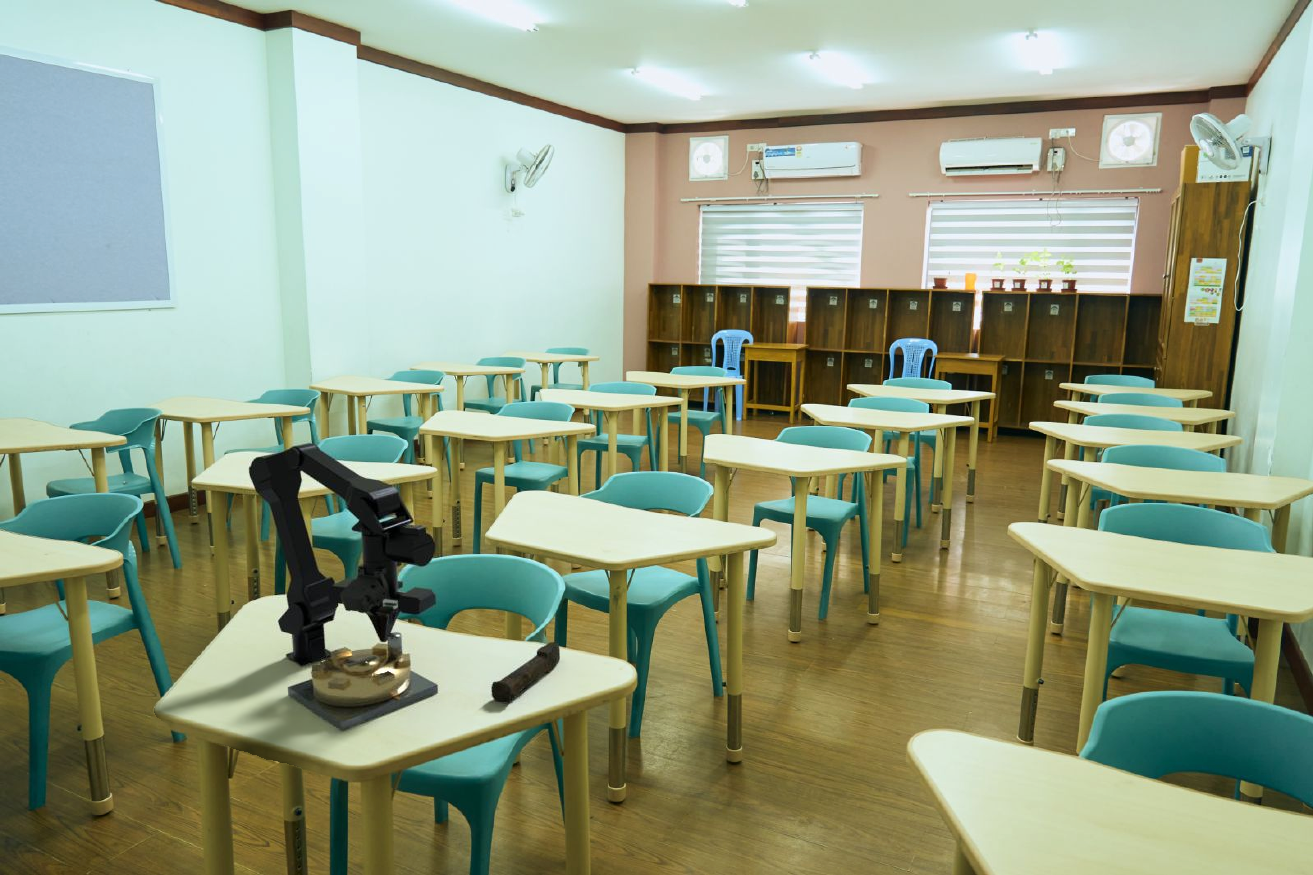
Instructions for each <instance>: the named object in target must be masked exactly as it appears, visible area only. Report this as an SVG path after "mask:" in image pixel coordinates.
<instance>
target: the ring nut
mask: <svg viewBox="0 0 1313 875" xmlns="http://www.w3.org/2000/svg"><path fill="white" fill-rule="evenodd" d="M402 638H403V636H402V633H401V632H397V631H394V632H393V631H392V632H391V633H390V634H388V635H387V643H379V642H377V643H376V644H375V645H373V646H372V648H364V649H362V648H361V649H356V650H352V649H349V648H348V647H346V646H344V647H342V648H338V649H336V650H332V651H331V657H329V658H326V659H324V660H322V661H321V662H320V663H319V664H312V665H311V671H310V672H311V679H312V680H313V694H314V696H315V697H316V698H317V699H318V700H319V701H321V702H323V703H326V704H329V705H334V706H343V707H351V706H363V705H369V704H374V703H378V702H382V701H385V700H387V699H390V698H392V697H394V696H396V695H398V694H400V693H401V692H403V691H404V690H405V689H406V688H407V687H408V686H409V684H410V682H411V671H412V670H411V654H410V653H403V640H402Z"/></svg>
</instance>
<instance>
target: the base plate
mask: <svg viewBox="0 0 1313 875" xmlns="http://www.w3.org/2000/svg"><path fill="white" fill-rule="evenodd" d="M438 693H439V685H438V684H437V683H436V682H433V681H431V680H430V679H427V678H426V677H424V676H422V675H420V674H418V673H417V672H415V671H413V670H411V682H410V684H409V686H408V687H407V688H406V689H405V690H404V691H403V692H401V693H400V694H398V695H396V696H394V697H392V698H390V699H387V700H385V701H382V702H378V703H374V704H369V705H363V706H351V707H343V706H334V705H329V704H326V703H323V702H321V701H319V700H318V699H317V698H316V697H315V696H314V694H313V680H312V678H310V679H308V680H305V681H302V682H299V683H296V684H293V685H290V686H287V695H288V696H289V697H290V698H292V699H293V700H294V701H296V702H298V703H299V704H300V705H302V706H304V707H305V708H306V709H308V710H310V711H311V712H313V713H314V714H315V715H317V716H319V717H320V718H321V719H323V720H324V721H325V722H327V723H329V724H330V725H332V726H333V727H335V728H336V729H337V730H339V731H340V732H343V731H346V730H349V729H351V728H353V727H356V726H359V725H362V724H363V723H366V722H369V721H371V720H374V719H377V718H379V717H381V716H384V715H386V714H388V713H392V712H393V711H396V710H398V709H401V708H403V707H406V706H409V705H411V704H414V703H415V702H419V701H421V700H423V699H425V698H428V697H429V698H430V697H431V696H433V695H435V694H438Z"/></svg>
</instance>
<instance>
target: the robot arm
mask: <svg viewBox="0 0 1313 875" xmlns="http://www.w3.org/2000/svg"><path fill="white" fill-rule="evenodd" d="M302 473H304V474H306V475H307V476H308V477H309V478H312V479H313V480H315V481H316V482H318V483H319V484H321V485H322V486H323V487H325V488H327V489H328V490H330V491H331V492H333V493H334V494H335V495H337V496H339V497H340V498H341V499H343V501H344V503H345V507H346V509H347V510H348V511H349V513H351V515H352V516H354V517H355V518H356V519H357V520H358V521H357V522H356V523H355V524H353V526H352V527H351V531H352V532H357V533H360V534H361V535H360V536H361V537H360V538H361V550H362V551H361V552H362V553H361V554H362V564H359V565H358V566H357V567H358V568H357V574H356V575H357V576H356V578H352V577H347V578H343V580H340V581H338V582H337V583H336V582H335V579H334V578H333V577H332V576H329V577H326V576H325V575H324V573H322V572H321V571H320V570H319V569H320V568H319V566H318V563H317V559H316V556H315V553H314V549H313V547H312V542H311V538H310V535H309V532H308V529H307V524H306V521H305V518H304V515H303V511H302V507H301V504H300V500H299V493H300V490H301V486H302V482H303V479H302V478H303V477H302ZM248 474H249V478H250V480H251V483H252V485H253V487H254V489H255V492H256V493H257V494H258V496H260V497H261V498H262V499H263V500H264V501H265V502H266V503H267V504H269V507H270V511H271V514H272V517H273V522H274V524H275V529H276V531H277V535H278V538H279V542H280V546H281V549H282V552H283V555H284V559H285V563H286V567H287V569H288V574H289V576H290V582H289V585H288V589H287V592H286V593H287V594H286V602H287V606H288V607H287V609H286V610H285V612H284V613H282V615H281V617H280V618H279V619H278V620H277V623H278V627H279V630H280V632H281V633H282V632H283V633H285V634H290V635H291V641H292V642H291V643H292V651H291V652H288V653H286V654H285V657H286V658H287V659H288V660H290V661H292V662H293V663H295V664H297V665H298V666H300V667H304V666H308V665H310V664H313V663H316V662H319V661H324V660H327V659H329V658H331V651H330V650H328V648H326V636H325V624H327V623H330V622H333V621H334V620H335V616H336V612H337V610H338V608H339V604H343V607H344V609H345V611H347V612H350V611H352V612H358V613H360V614H366V615H367V616H368V619H369V620H370V622H371V624H372V626H373V628H374V631H375V633H376V635H377V637H378V639H379V641H380V642H382V643H386V642H388V640H387V635H388V634H390V633H392V632H393V629H394V626H395V624H396V620H397V619H398V617H399V614H400V613H401V614H408V615H415V616H416V615H421V614H422V613H423V612H425V611H427V610H429V609H430V608H431V607H434V605H436V604H437V603H436V602H437V598H436V597H437V596H436V593H435V591H433V589H432V588H431V589H430V588H424V587H416V586H415V587H413V588H411V589H410V590H407V591H400V589H401V588H404V586H403V585H404V583H403V581H399V578H398V576H399V575H398V572H399V571H398V568H399V567H400V566H402V564H406V565H411V566H415V567H422V568H423V567H426V566H427V565H429V564H430V563H431V561H432V560H433V558H434V556H435V552H436V542H435V540H434V538H433V536H432V535H431V534H430V533H428V532H427V527H426V526H425V525H420V524H419V525H414V524H413V523H414V518H413V516H412V515H411V512H410V511H409V510H408V508H407V506H406V504H404V503H405V502H404V501H403V499H402V498H401V496H400V494H399V491H398V490H397V488H396V487H394V486H393V485H391V484H390V483H387V482H385V481H381V480H380V479H374V478H369V477H368V478H367V477H365V476H362V475H360V474H358V473H356V472H355V471H353V470H352V469H350V468H349V467H348V466H346V465H345V464H344V463H342V462H340V461H338V460H337V459H335V458H334V457H332V456H331V455H329V454H328V453H325V452H324V451H323V450H321V449H320V447H319V446H318V445H317V444H315V443H312V442H307V443H302V444H299V445H292V446H291V447H289V448H288V449H286V450H283V451H281V452H276V453H270V454H266V455H260V456H256V457H255V458H254V459H252V461H251V464H250V465H249V467H248ZM393 516H395V517H393ZM391 517H392V518H391ZM388 518H389V519H388ZM385 519H386V520H385ZM381 520H383V521H381Z"/></svg>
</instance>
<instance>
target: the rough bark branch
mask: <svg viewBox="0 0 1313 875" xmlns="http://www.w3.org/2000/svg"><path fill="white" fill-rule="evenodd" d="M560 649H561V648H560V645H559V643H558V642H556V641H552V642H548V643H547V644H546V645H543V646H541V647H539V648H538V649H537V651H536V655H535V656H534V657H532V658H531V659H530V660H528V661H527V662H526V663H524V664H522V665H521V666H519V667H518V668H517V669H515V670H514V671H512V672H510V673H509V674H508V675H506V676H504V677H503V678H501V679H500V680H498V681H493V682H492V684H491V697H492V698H493V700H494V701H495V702H499V703H501V704H509V703H510V702H511V701H512V700H514V699H515V696H516V695H517V694H518V693H519V692H521V691H522V690H524V689H525V688H526V687H527V686H530V685H531V684H532V683H533V682H535V681H536V680H537V679H538V678H539V677H541V676H542V675H544V674H545V675H546V674H550V673H551V672H552V671H553V670H554V669H555V668H556V667H557V665H558V664H559V661H560V660H561V656H560V654H561V653H560V651H561V650H560Z"/></svg>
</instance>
